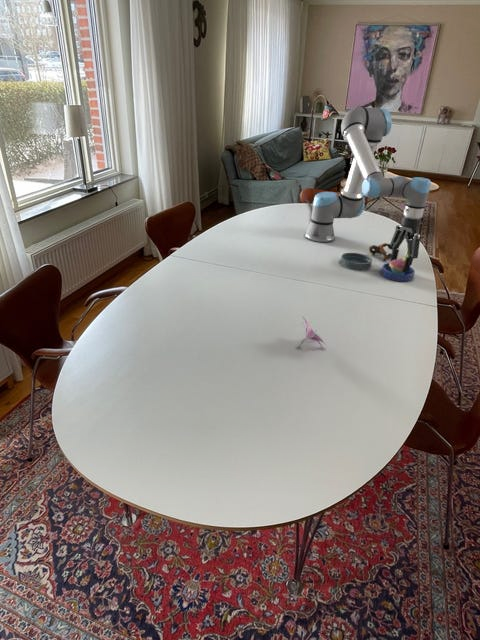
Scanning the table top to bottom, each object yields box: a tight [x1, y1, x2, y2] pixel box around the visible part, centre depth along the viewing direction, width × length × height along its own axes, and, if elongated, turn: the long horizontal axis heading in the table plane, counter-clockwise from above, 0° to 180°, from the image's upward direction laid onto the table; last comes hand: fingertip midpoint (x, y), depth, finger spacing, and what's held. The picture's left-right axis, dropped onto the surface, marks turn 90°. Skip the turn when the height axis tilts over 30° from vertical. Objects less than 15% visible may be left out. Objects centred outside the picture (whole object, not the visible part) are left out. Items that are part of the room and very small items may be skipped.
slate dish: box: [340, 252, 373, 271], centre depth 200 cm, size 14×14×3 cm
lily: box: [297, 314, 327, 349], centre depth 136 cm, size 12×12×10 cm
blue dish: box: [380, 262, 416, 282], centre depth 191 cm, size 14×14×3 cm
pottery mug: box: [368, 242, 392, 262], centre depth 208 cm, size 12×10×8 cm
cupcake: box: [389, 251, 408, 275], centre depth 189 cm, size 9×8×12 cm
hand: (398, 267), depth 190 cm, fingers closed on cupcake, 8 cm apart
